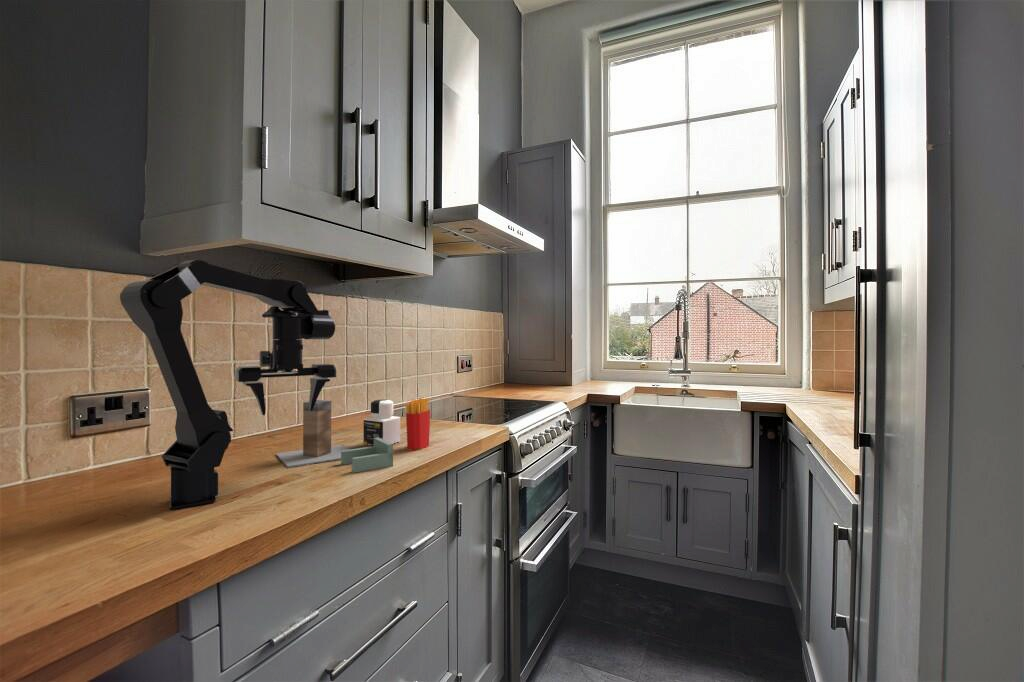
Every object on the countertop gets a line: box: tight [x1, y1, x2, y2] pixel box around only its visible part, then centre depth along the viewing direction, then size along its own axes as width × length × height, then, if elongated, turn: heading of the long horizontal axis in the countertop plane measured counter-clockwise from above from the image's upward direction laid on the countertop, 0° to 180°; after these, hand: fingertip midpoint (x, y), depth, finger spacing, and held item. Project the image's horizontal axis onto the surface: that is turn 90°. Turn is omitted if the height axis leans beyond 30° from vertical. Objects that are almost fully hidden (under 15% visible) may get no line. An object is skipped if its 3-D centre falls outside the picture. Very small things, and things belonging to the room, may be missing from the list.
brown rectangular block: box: [302, 399, 332, 457], centre depth 113 cm, size 4×4×13 cm
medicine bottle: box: [363, 399, 401, 446], centre depth 127 cm, size 7×7×12 cm
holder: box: [340, 437, 394, 474], centre depth 105 cm, size 9×9×5 cm
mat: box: [275, 444, 351, 469], centre depth 113 cm, size 16×14×1 cm
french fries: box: [405, 397, 431, 451], centre depth 123 cm, size 9×4×13 cm, turn 160°
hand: (287, 412), depth 98 cm, fingers open, 9 cm apart
